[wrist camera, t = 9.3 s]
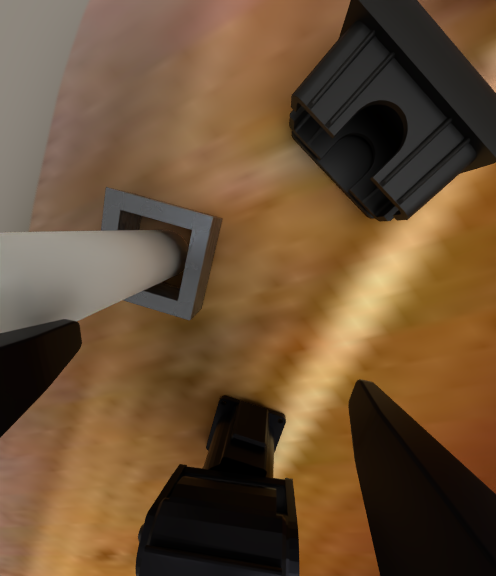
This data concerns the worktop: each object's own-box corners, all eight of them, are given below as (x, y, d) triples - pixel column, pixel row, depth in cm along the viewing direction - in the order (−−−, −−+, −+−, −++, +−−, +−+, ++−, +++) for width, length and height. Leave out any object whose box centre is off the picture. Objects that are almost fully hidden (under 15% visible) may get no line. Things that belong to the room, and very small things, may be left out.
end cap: (458, 150, 18) (565, 105, 11) (375, 226, 19) (424, 225, 13) (360, 40, 17) (412, -80, 10) (283, 129, 19) (285, 75, 12)
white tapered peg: (184, 282, 22) (34, 367, 9) (141, 268, 22) (-71, 332, 9) (194, 237, 21) (42, 254, 8) (149, 223, 21) (-77, 217, 8)
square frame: (201, 308, 22) (190, 320, 20) (117, 283, 23) (94, 291, 20) (222, 218, 20) (213, 217, 18) (130, 192, 21) (106, 187, 18)
